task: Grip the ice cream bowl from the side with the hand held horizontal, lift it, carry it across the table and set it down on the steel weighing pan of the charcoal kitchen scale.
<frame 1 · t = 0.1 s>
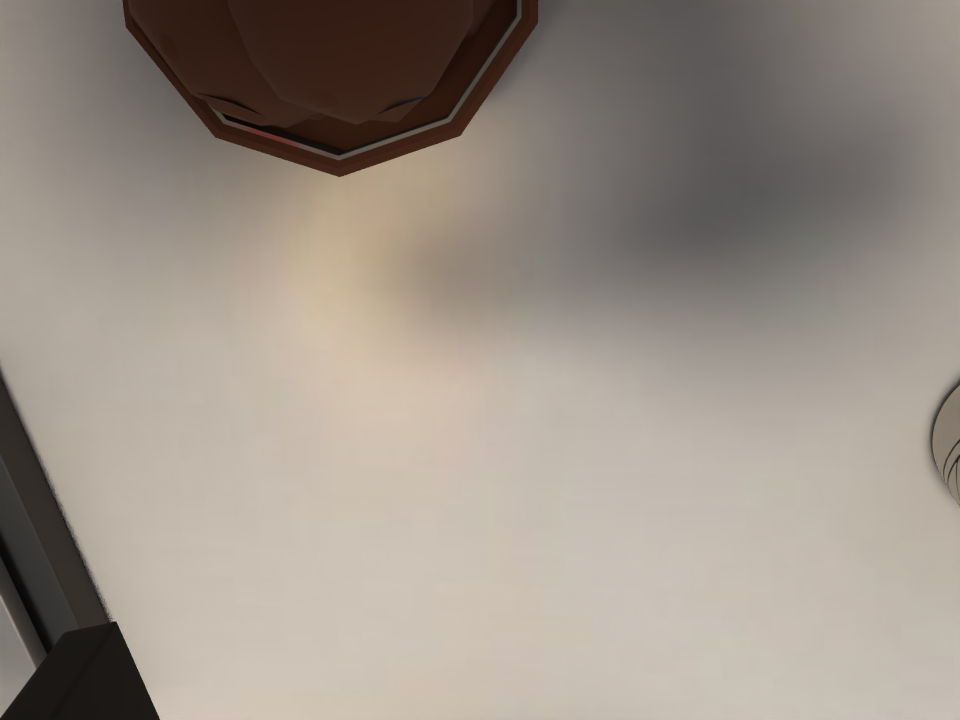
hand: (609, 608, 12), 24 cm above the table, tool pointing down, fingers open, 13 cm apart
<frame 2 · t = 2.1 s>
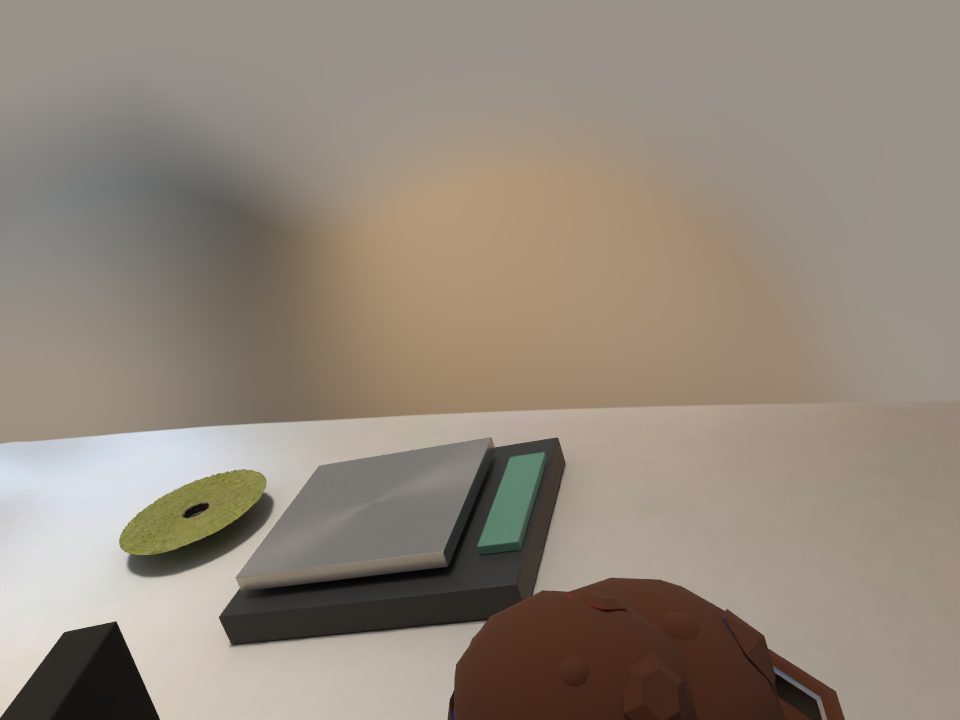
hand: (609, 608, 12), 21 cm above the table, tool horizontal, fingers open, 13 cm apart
scale: (411, 546, 56), on the table
scale pan: (374, 509, 55), point 3 cm above the table, slide at 0.0 cm
mat: (204, 532, 67), on the table
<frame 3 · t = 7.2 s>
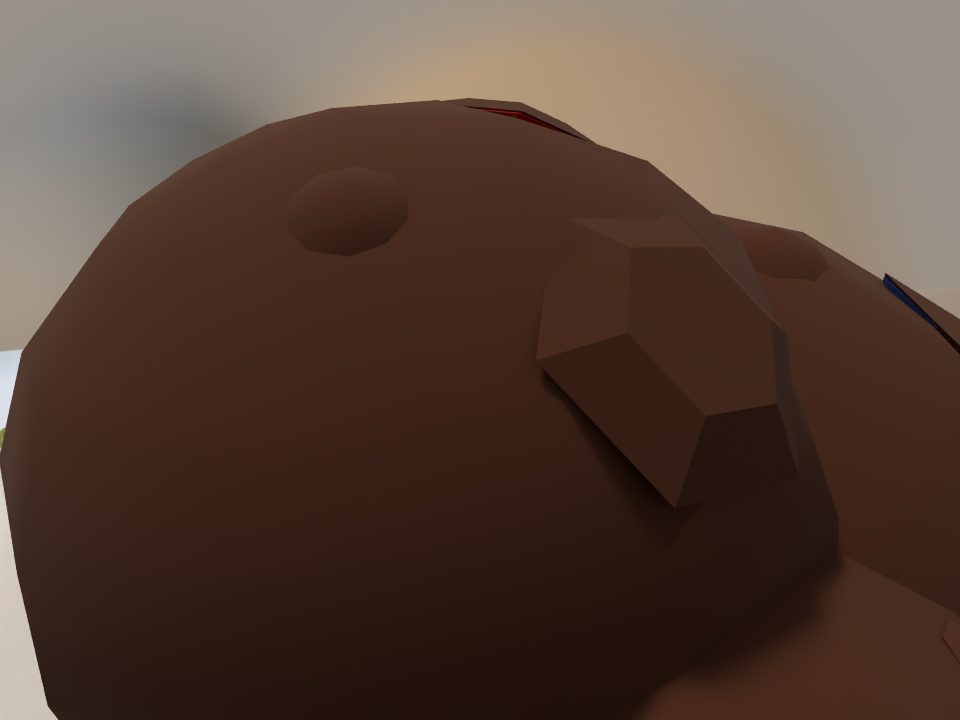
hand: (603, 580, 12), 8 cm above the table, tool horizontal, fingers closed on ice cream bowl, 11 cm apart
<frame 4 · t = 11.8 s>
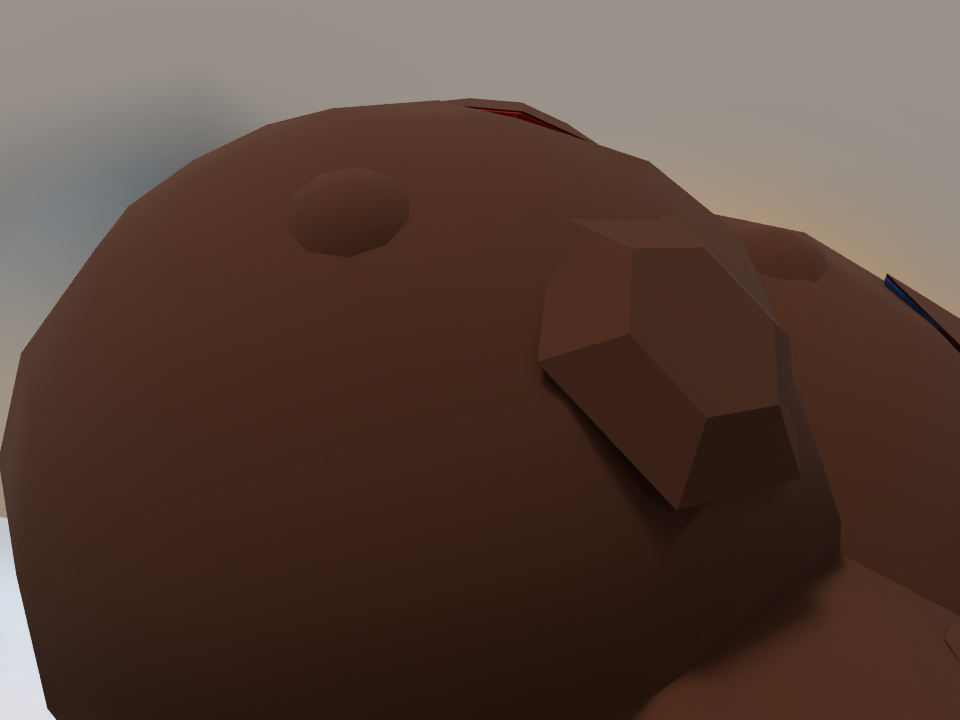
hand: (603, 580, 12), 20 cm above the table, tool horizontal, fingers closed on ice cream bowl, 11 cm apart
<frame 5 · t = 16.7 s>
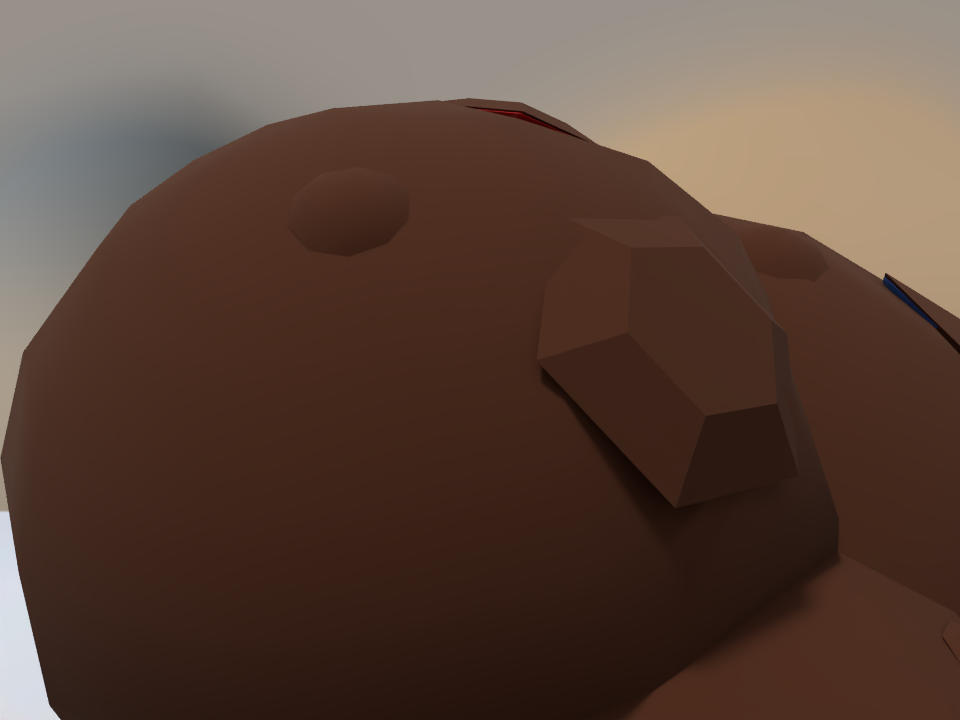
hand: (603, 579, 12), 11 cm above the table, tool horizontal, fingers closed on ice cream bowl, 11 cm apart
when the fingers open (11 cm above the table, at t = 16.9 s): ice cream bowl stays where it is, resting on scale pan.
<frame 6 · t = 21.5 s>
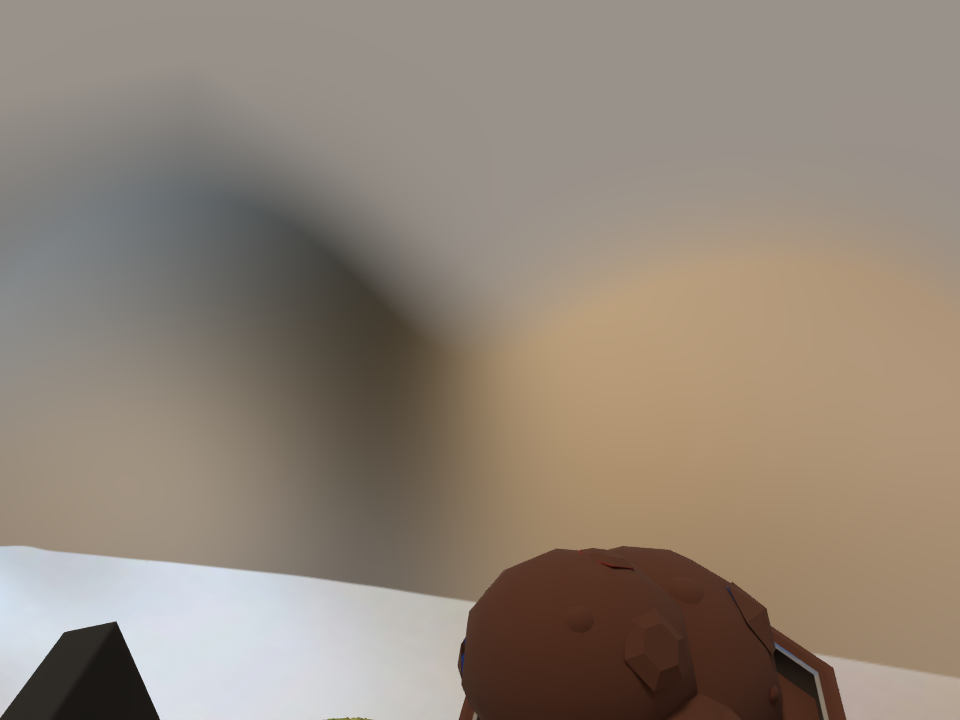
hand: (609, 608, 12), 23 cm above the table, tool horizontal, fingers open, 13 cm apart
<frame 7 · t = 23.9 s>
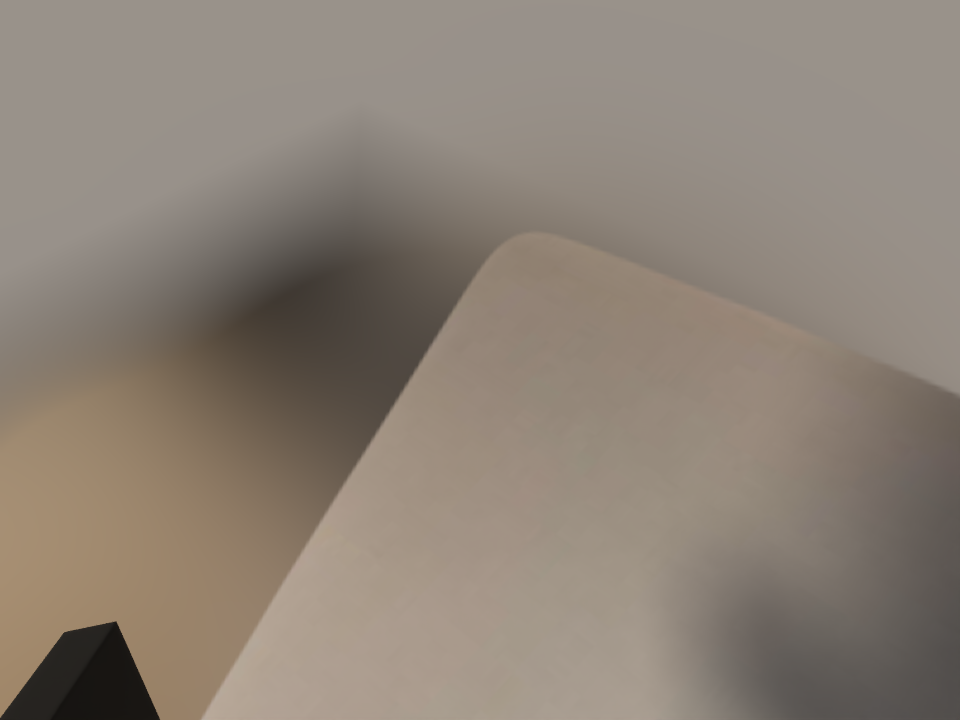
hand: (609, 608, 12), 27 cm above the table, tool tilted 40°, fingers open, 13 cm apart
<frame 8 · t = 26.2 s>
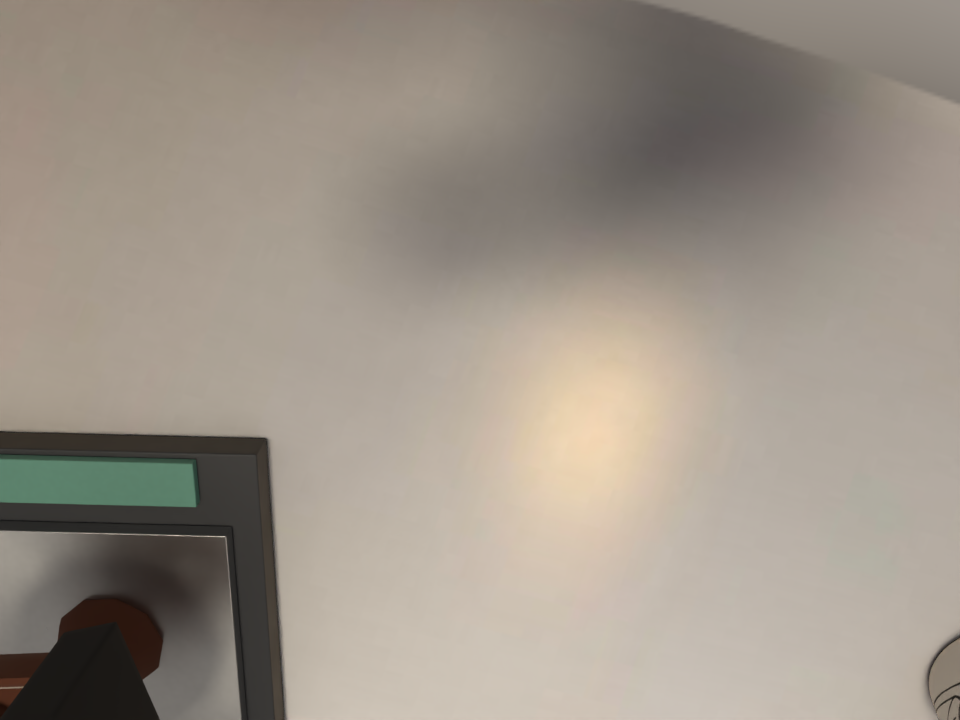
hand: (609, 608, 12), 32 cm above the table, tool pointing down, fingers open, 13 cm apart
scale: (130, 585, 49), on the table
ice cream bowl: (112, 640, 47), point 3 cm above the table, touching scale pan
scale pan: (114, 637, 47), point 3 cm above the table, slide at -0.5 cm, touching ice cream bowl
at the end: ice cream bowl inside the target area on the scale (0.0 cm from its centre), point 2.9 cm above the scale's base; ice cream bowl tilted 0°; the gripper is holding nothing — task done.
